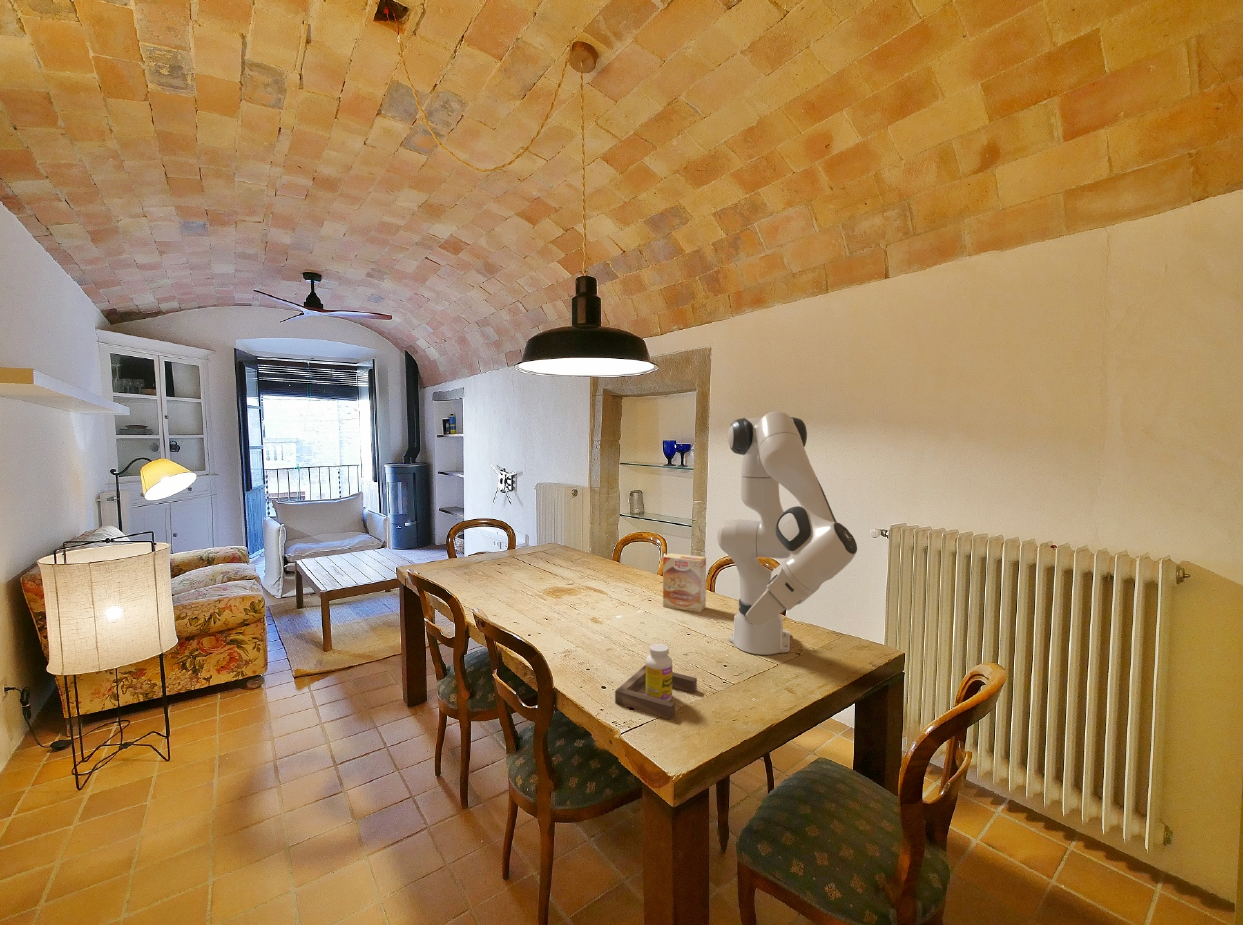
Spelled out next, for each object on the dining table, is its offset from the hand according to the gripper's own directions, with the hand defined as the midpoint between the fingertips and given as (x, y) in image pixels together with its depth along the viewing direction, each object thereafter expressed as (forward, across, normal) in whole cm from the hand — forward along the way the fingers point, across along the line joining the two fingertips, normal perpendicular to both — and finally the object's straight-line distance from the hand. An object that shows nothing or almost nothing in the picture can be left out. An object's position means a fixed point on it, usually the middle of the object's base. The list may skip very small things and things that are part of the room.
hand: (748, 619), depth 118 cm
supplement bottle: (+32, +2, 0) cm, 32 cm away
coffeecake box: (+48, -63, -14) cm, 81 cm away
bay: (+32, +2, 0) cm, 32 cm away
